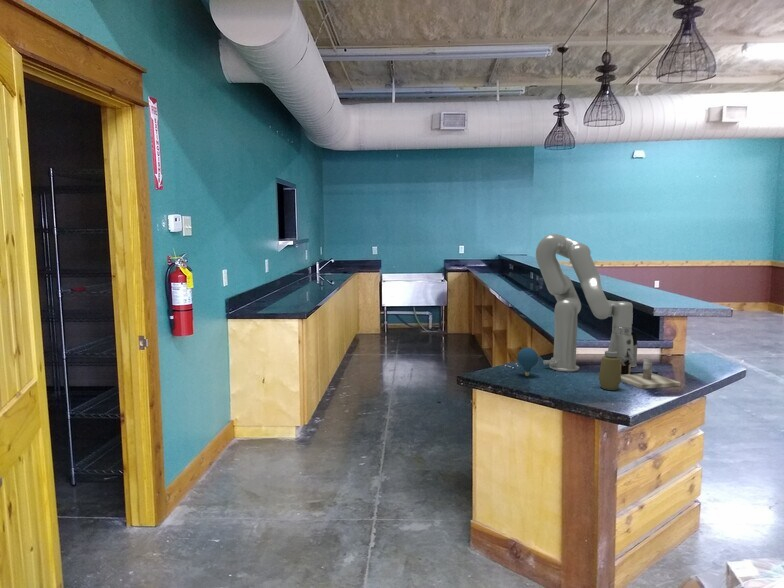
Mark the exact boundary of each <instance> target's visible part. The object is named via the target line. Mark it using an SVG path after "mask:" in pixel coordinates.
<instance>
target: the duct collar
mask: <svg viewBox="0 0 784 588" xmlns="http://www.w3.org/2000/svg"><path fill="white" fill-rule="evenodd" d="M622 365H623V364H622V362H620V372H621V366H622ZM631 369H632V368H631V365H630V366H629V373H628V374H631Z"/></svg>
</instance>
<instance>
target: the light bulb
mask: <svg viewBox="0 0 784 588" xmlns="http://www.w3.org/2000/svg"><path fill="white" fill-rule="evenodd" d="M517 362H518V364H519V365H520V366H521V367H522V368H523V370H524V375H525V376H526V377H528V376H530V372H531V369H532V368H533V367H534V366H536V365H537V363H538V362H539V355H538V352H537V351H536V350H535V349H533V348H531V347H524V348H521V349H520V350H519V352H518V353H517Z"/></svg>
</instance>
